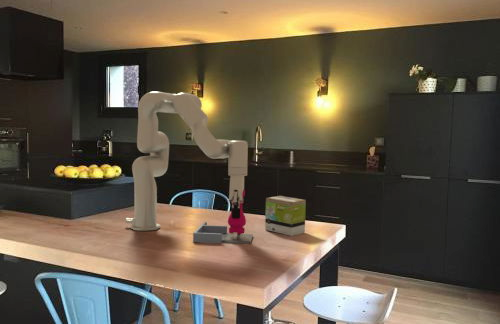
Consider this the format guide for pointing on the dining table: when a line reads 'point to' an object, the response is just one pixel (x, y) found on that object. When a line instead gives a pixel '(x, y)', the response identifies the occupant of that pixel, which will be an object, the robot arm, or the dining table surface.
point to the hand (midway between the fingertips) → (236, 216)
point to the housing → (209, 233)
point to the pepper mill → (237, 220)
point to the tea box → (285, 215)
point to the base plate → (237, 238)
